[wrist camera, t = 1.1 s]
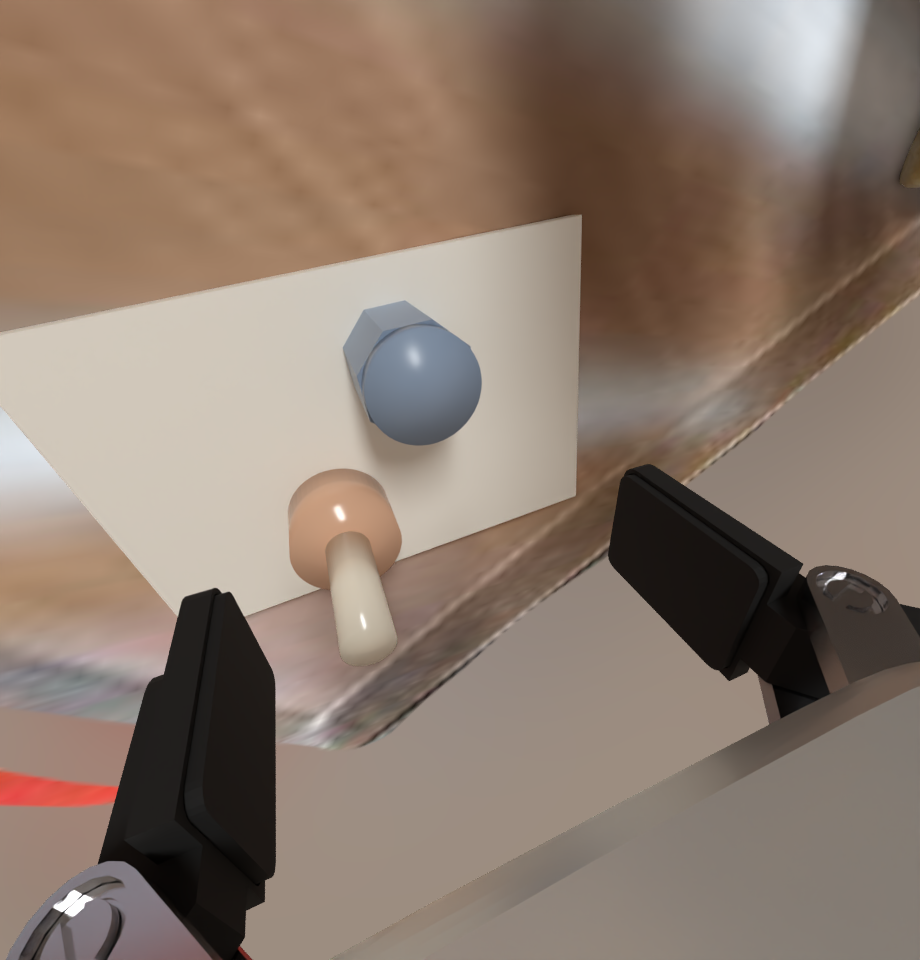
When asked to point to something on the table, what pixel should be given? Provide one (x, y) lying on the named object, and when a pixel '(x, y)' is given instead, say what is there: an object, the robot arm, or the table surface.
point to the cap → (412, 374)
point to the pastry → (912, 166)
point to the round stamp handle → (348, 556)
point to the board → (302, 407)
